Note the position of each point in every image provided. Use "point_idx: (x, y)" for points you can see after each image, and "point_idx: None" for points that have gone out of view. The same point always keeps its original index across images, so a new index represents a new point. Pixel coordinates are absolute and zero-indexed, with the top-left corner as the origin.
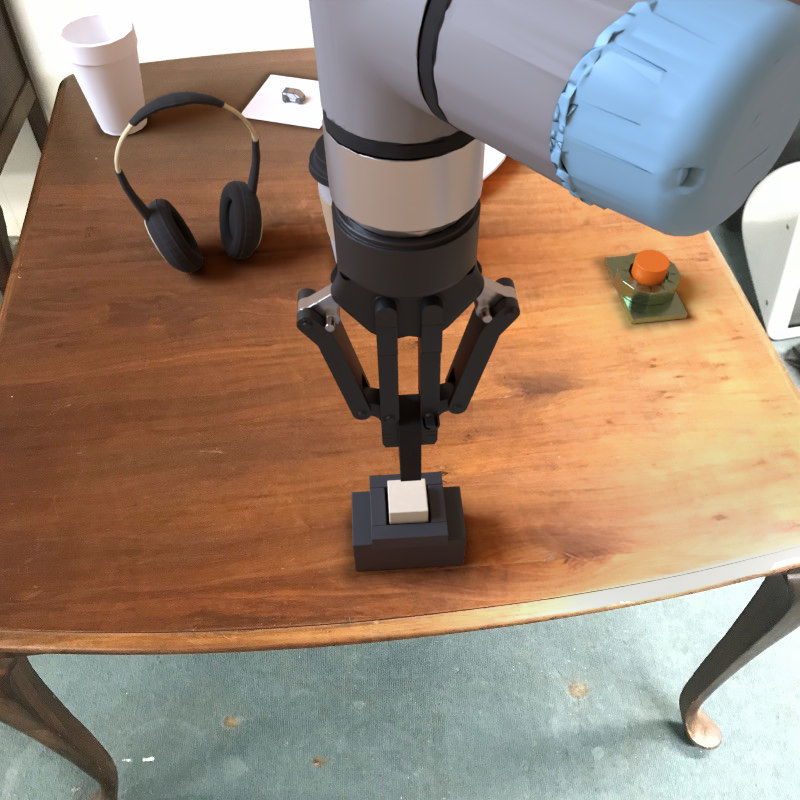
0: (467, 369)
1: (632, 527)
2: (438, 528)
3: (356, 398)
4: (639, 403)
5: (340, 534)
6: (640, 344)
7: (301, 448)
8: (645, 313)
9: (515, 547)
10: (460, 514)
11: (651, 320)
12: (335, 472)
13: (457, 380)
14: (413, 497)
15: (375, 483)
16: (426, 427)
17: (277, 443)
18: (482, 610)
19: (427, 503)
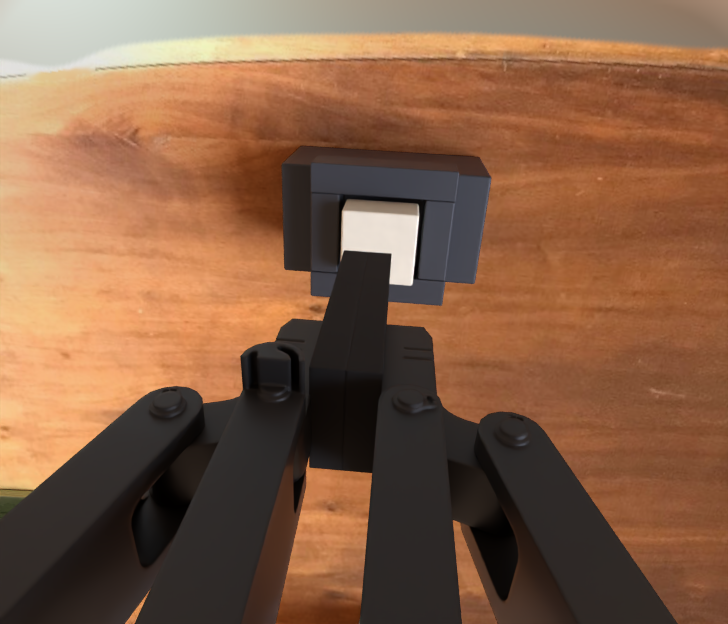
0: (2, 599)
1: (30, 178)
2: (327, 179)
3: (548, 507)
4: (22, 376)
5: (492, 227)
6: (22, 461)
7: (526, 378)
8: (11, 503)
9: (214, 167)
10: (287, 214)
11: (5, 492)
12: (481, 333)
13: (113, 525)
14: (367, 243)
15: (432, 288)
16: (291, 355)
17: (562, 391)
18: (277, 55)
19: (341, 227)
